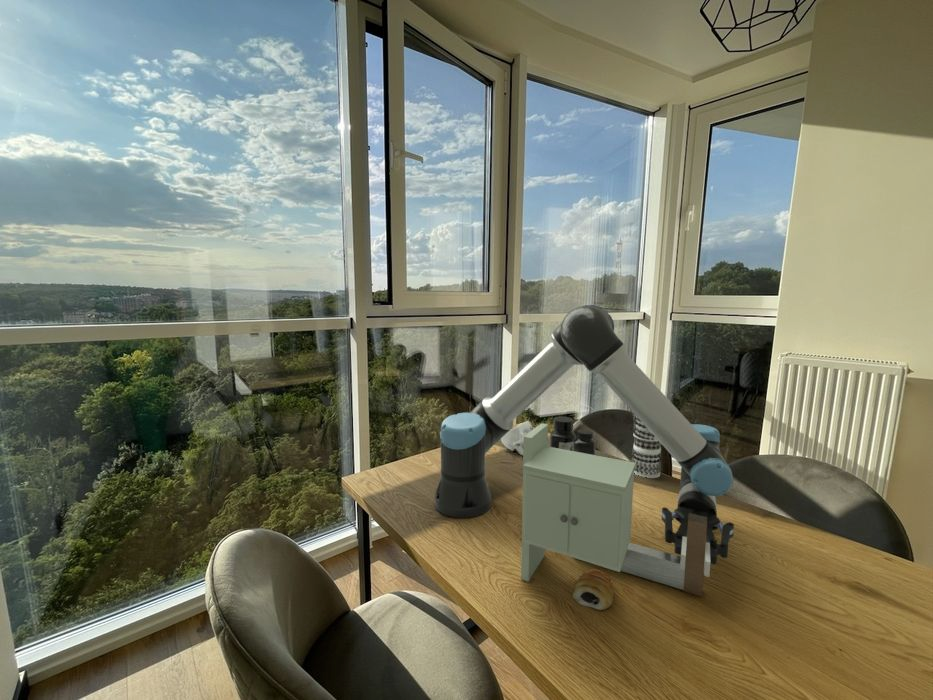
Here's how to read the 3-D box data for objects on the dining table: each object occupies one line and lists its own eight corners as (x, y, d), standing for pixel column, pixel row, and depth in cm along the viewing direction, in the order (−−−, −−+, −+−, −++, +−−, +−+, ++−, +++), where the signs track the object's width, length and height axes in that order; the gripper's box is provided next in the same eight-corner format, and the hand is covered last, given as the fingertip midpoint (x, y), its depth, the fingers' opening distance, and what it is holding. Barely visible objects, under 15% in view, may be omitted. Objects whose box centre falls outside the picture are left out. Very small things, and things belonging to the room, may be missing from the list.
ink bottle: (563, 458, 141) (565, 424, 139) (544, 451, 148) (544, 419, 146) (581, 452, 147) (582, 419, 145) (561, 445, 154) (562, 414, 152)
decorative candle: (659, 468, 133) (664, 392, 129) (663, 480, 124) (668, 399, 121) (629, 464, 136) (633, 390, 132) (630, 476, 127) (635, 397, 124)
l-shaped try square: (571, 556, 87) (573, 493, 85) (575, 549, 90) (577, 488, 88) (701, 596, 75) (707, 524, 74) (701, 586, 78) (706, 517, 76)
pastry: (583, 573, 83) (584, 555, 82) (618, 584, 79) (619, 566, 79) (570, 603, 75) (571, 583, 74) (609, 617, 71) (610, 597, 71)
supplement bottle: (595, 472, 130) (597, 435, 128) (573, 470, 131) (574, 434, 129) (593, 464, 136) (594, 429, 135) (572, 462, 138) (573, 427, 136)
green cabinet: (512, 592, 77) (514, 443, 73) (538, 553, 89) (541, 423, 85) (617, 632, 68) (625, 464, 64) (630, 583, 79) (637, 438, 76)
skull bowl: (533, 457, 138) (518, 423, 141) (506, 468, 147) (492, 436, 151) (551, 449, 145) (536, 417, 148) (524, 460, 154) (511, 430, 158)
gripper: (738, 532, 88) (748, 602, 68) (656, 513, 96) (643, 570, 76) (741, 499, 87) (752, 560, 67) (658, 482, 95) (646, 532, 75)
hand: (694, 565), depth 72 cm, fingers closed on l-shaped try square, 3 cm apart
